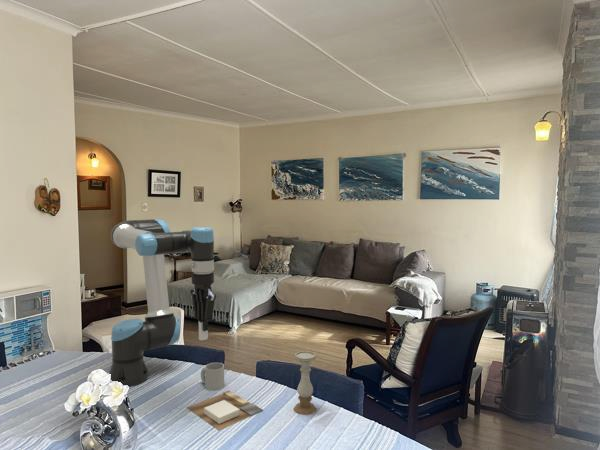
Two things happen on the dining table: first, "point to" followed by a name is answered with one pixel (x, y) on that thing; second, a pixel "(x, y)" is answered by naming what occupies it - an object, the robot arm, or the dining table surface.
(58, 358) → the dining table surface
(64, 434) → the dining table surface
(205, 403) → the board
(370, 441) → the dining table surface
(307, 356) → the candle holder
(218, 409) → the tile
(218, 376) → the cup
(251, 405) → the turner
